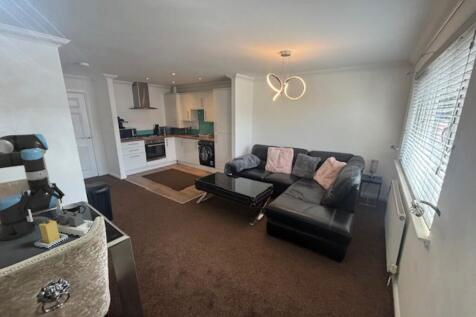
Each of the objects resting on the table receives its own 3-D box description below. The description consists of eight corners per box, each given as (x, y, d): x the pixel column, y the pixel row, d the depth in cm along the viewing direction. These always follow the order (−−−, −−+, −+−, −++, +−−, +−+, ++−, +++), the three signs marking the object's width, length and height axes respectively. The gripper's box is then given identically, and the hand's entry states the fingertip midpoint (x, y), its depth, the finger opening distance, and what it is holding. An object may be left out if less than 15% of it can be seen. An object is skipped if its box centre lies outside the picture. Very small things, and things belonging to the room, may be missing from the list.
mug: (66, 224, 129) (63, 210, 127) (63, 219, 135) (61, 206, 132) (88, 217, 138) (86, 204, 136) (85, 213, 144) (82, 200, 141)
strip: (55, 231, 121) (51, 213, 119) (72, 222, 131) (68, 206, 128) (84, 237, 116) (81, 219, 113) (100, 228, 125) (97, 211, 122)
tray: (35, 245, 108) (34, 242, 107) (55, 235, 117) (54, 232, 117) (48, 248, 105) (47, 245, 105) (68, 237, 115) (67, 234, 114)
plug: (43, 243, 110) (38, 221, 107) (53, 238, 114) (48, 216, 111) (50, 245, 108) (44, 222, 105) (60, 239, 113) (55, 218, 110)
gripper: (10, 187, 90) (21, 228, 95) (68, 172, 114) (74, 205, 118) (-1, 185, 92) (10, 226, 97) (58, 171, 116) (65, 204, 120)
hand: (45, 214), depth 108 cm, fingers open, 13 cm apart
